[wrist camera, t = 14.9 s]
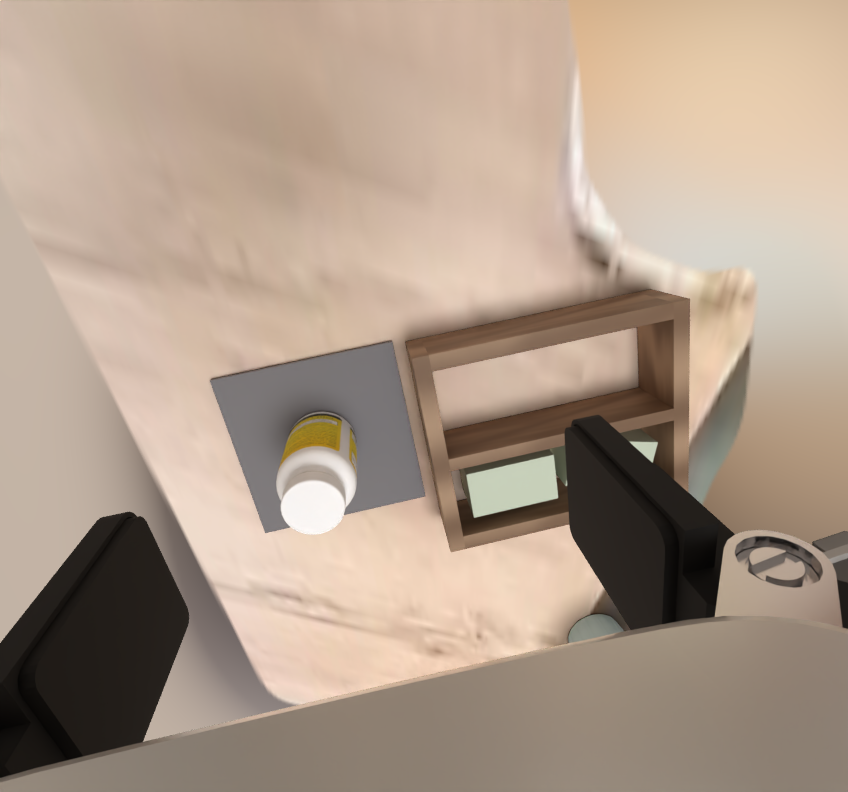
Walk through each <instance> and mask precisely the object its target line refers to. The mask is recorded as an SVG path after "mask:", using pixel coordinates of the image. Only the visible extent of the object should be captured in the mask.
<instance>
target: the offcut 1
mask: <svg viewBox="0 0 848 792" xmlns="http://www.w3.org/2000/svg"><path fill="white" fill-rule="evenodd" d="M460 474H461V479H462V485H463V490H464V493H465V495H466V498H467V501H468V503H469V506H470V508H471V511H472V514H473V516H474V518H476V517H480V516H484V515H488V514H493V513H497V512H501V511H505V510H510V509H514V508H518V507H523V506H527V505H531V504H535V503H540V502H544V501H548V500H553V499H557V498H558V490H557V481H556V471H555V462H554V454H553V453H552V452H551V451H550V450H549V449H547V450H542V451H538V452H534V453H529V454H525V455H520V456H516V457H512V458H507V459H503V460H498V461H494V462H490V463H485V464H481V465H476V466H472V467H468V468H463V469H460Z"/></svg>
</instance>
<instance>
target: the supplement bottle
mask: <svg viewBox="0 0 848 792" xmlns="http://www.w3.org/2000/svg"><path fill="white" fill-rule="evenodd" d="M356 485H357V441H356V435H355V432H354V430H353V428H352V427H351V425H350V424H349V423H348V422H347V421H346V420H345V419H344V418H342V417H341V416H339V415H337V414H334V413H330V412H315V413H311V414H308V415H306V416H304V417H303V418H301V419H300V420H299V421H298V422H297V423H296V424H295V425H294V426H293V428H292V430H291V432H290V434H289V436H288V440H287V443H286V447H285V450H284V453H283V456H282V460H281V463H280V467H279V470H278V474H277V480H276V488H277V493H278V496H279V498H280V500H281V513H282V516H283V519H284V520H285V522H286V523H287V524H288V525H289V526H290V527H291V528H293V529H294V530H296V531H298V532H301V533H304V534H321V533H325V532H327V531H329V530H331V529H333V528H334V527H335V526H336V525H338V523H339V522H340V521H341V519H342V518H343V515H344V512H345V508H346V507H347V506H348V504H349V503H350V502H351V500H352V498H353V497H354V494H355V491H356Z"/></svg>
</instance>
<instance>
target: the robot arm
mask: <svg viewBox="0 0 848 792" xmlns="http://www.w3.org/2000/svg"><path fill="white" fill-rule="evenodd" d="M564 436H565V454H566V473H567V491H568V509H569V525H570V530H571V534H572V536H573V539H574V540H575V542H576V544H577V545H578V547H579V548H580V550H581V552H582V553H583V555H584V556H585V558H586V560H587V561H588V563H589V564H590V566H591V568H592V569H593V571H594V572H595V574H596V575H597V577H598V579H599V580H600V582H601V583H602V585H603V587H604V588H605V590H606V591H607V593H608V595H609V596H610V598H611V599H612V601H613V602H614V604H615V606H616V607H617V609H618V610H619V612H620V614H621V615H622V617H623V618H624V620H625V622H626V623H627V625H628V626H629V628H630V629H631V630H629V631H624V632H618V633H614V634H609V635H605V636H600V637H596V638H591V639H587V640H582V641H578V642H573V643H568V644H563V645H559V646H554V647H550V648H545V649H541V650H536V651H532V652H528V653H523V654H519V655H514V656H510V657H505V658H501V659H497V660H492V661H488V662H483V663H479V664H475V665H470V666H466V667H461V668H457V669H453V670H448V671H444V672H439V673H435V674H430V675H426V676H422V677H417V678H413V679H409V680H404V681H400V682H396V683H391V684H387V685H383V686H378V687H374V688H370V689H366V690H361V691H357V692H353V693H348V694H344V695H340V696H335V697H331V698H327V699H323V700H318V701H314V702H310V703H305V704H301V705H297V706H293V707H289V708H284V709H280V710H276V711H272V712H267V713H263V714H259V715H254V716H250V717H246V718H242V719H238V720H233V721H229V722H225V723H221V724H217V725H212V726H208V727H204V728H200V729H196V730H191V731H187V732H183V733H179V734H175V735H170V736H166V737H162V738H158V739H154V740H150V741H145V742H143V740H144V737H145V735H146V732H147V730H148V727H149V724H150V722H151V719H152V717H153V714H154V712H155V709H156V706H157V704H158V701H159V699H160V696H161V694H162V691H163V688H164V686H165V683H166V681H167V678H168V675H169V673H170V670H171V668H172V665H173V663H174V660H175V658H176V655H177V652H178V650H179V647H180V645H181V642H182V640H183V637H184V634H185V632H186V629H187V627H188V623H189V612H188V608H187V606H186V604H185V602H184V600H183V598H182V595H181V593H180V591H179V589H178V587H177V585H176V583H175V581H174V579H173V577H172V575H171V572H170V571H169V568H168V566H167V564H166V562H165V560H164V558H163V556H162V553H161V551H160V549H159V547H158V545H157V543H156V541H155V539H154V537H153V534H152V532H151V530H150V528H149V526H148V524H147V522H146V521H145V519H144V518H143V517H140V516H139V517H137V516H136V515H135V514H134V513H132V512H125V513H121V514H116V515H112V516H106V517H102V518H100V519H99V520H97V521H96V523H95V524H94V525H93V527H92V528H91V529H90V530H89V532H88V533H87V534H86V536H85V537H84V538H83V539H82V540H81V542H80V543H79V544H78V546H77V547H76V548H75V549H74V551H73V552H72V553H71V555H70V556H69V557H68V558H67V559H66V561H65V562H64V563H63V565H62V566H61V567H60V568H59V570H58V571H57V572H56V574H55V575H54V576H53V577H52V578H51V580H50V581H49V582H48V584H47V585H46V586H45V587H44V589H43V590H42V591H41V592H40V594H39V595H38V596H37V598H36V599H35V600H34V601H33V602H32V604H31V605H30V606H29V608H28V609H27V610H26V611H25V613H24V614H23V615H22V617H21V618H20V619H19V620H18V621H17V623H16V624H15V625H14V626H13V628H12V629H11V630H10V632H9V633H8V634H7V635H6V637H5V638H4V639H3V640H2V642H1V643H0V792H848V582H844V581H840V580H837V577H836V572H835V569H834V567H833V564H832V562H831V561H830V560H829V559H828V558H827V557H826V556H825V555H824V554H823V552H821V551H820V550H818V549H817V548H815V547H814V546H812V545H811V544H809V543H807V542H805V541H803V540H801V539H798V538H796V537H794V536H791V535H787V534H783V533H780V532H775V531H766V530H750V531H744V532H741V533H738V534H734V533H733V532H732V531H730V530H729V529H728V528H727V527H726V526H725V525H724V524H723V523H722V522H720V521H719V520H718V519H717V518H716V517H715V516H714V515H713V514H712V513H710V512H709V511H708V510H707V509H706V508H705V507H704V506H703V505H702V504H700V503H699V502H698V501H697V500H696V499H695V498H694V497H693V496H692V495H690V494H689V493H688V492H687V491H686V490H685V489H684V488H683V487H682V486H680V485H679V484H678V483H677V482H676V481H675V480H674V479H673V478H672V477H670V476H669V475H668V474H667V473H666V472H665V471H664V470H663V469H662V468H660V467H659V466H658V465H656V464H655V463H652V462H651V461H650V460H649V459H648V458H647V457H645V456H644V455H643V454H642V453H641V452H640V451H639V450H638V449H637V448H636V447H634V446H633V445H632V444H631V443H630V442H629V441H628V440H627V439H626V438H625V437H623V436H622V435H621V434H620V433H619V432H618V431H617V430H616V429H615V428H614V427H612V426H611V425H610V424H609V423H608V422H607V421H606V420H605V419H604V418H603V417H601V416H600V415H593V416H589V417H584V418H579V419H574V420H573V421H572V424H571V427H567V428H566V429H565V433H564Z"/></svg>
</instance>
